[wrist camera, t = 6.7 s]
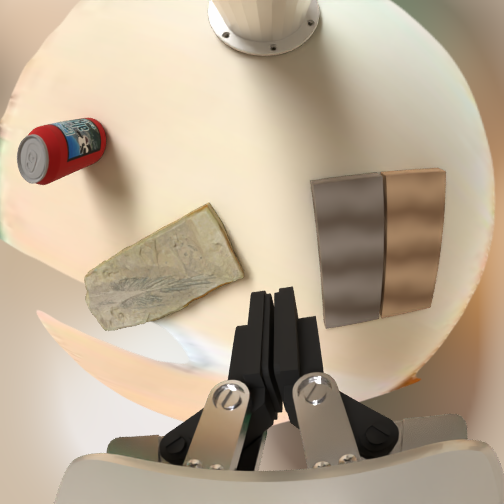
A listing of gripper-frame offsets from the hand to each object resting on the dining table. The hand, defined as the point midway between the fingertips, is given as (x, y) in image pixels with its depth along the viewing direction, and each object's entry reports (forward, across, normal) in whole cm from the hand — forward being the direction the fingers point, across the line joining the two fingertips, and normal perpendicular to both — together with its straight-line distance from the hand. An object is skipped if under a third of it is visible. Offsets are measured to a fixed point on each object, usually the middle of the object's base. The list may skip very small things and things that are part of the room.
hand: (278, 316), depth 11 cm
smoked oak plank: (+24, -8, +13) cm, 28 cm away
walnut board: (+24, -17, +13) cm, 32 cm away
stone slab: (+24, +22, +12) cm, 35 cm away
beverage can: (+25, +23, -11) cm, 36 cm away
